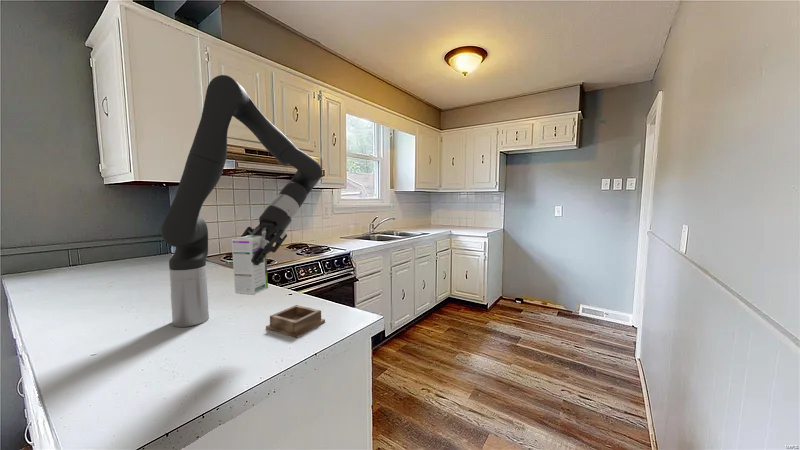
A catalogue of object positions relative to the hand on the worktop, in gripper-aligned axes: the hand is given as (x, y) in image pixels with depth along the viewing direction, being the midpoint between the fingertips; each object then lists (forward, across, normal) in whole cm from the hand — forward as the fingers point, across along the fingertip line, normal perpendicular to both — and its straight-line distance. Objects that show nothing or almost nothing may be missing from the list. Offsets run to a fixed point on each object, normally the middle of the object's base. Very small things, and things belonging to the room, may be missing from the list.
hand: (244, 261), depth 78 cm
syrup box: (+5, 0, +7) cm, 9 cm away
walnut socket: (+5, +2, +26) cm, 27 cm away
